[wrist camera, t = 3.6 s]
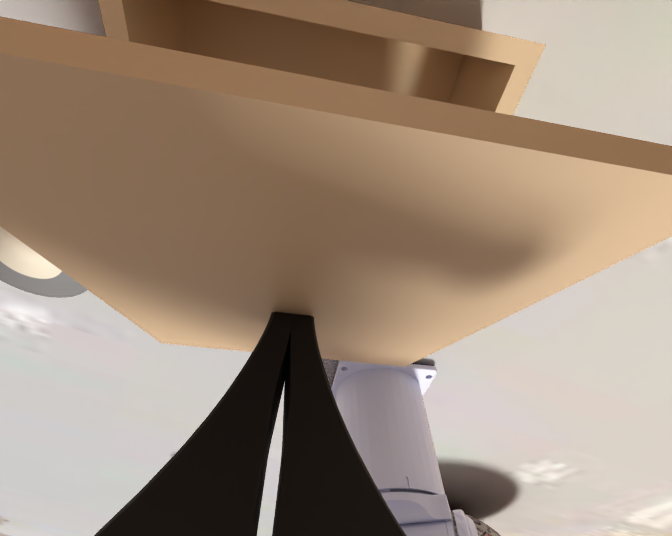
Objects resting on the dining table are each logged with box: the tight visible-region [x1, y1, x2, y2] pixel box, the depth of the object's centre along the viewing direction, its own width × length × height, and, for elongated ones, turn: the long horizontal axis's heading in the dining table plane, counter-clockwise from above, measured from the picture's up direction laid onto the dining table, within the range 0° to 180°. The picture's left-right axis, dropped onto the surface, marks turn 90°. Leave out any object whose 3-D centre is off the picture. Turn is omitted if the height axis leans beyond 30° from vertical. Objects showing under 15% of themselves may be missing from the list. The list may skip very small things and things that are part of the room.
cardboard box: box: [98, 0, 546, 115], centre depth 15 cm, size 14×12×5 cm
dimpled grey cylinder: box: [0, 226, 87, 298], centre depth 15 cm, size 5×5×5 cm
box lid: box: [0, 17, 672, 367], centre depth 10 cm, size 14×12×1 cm
